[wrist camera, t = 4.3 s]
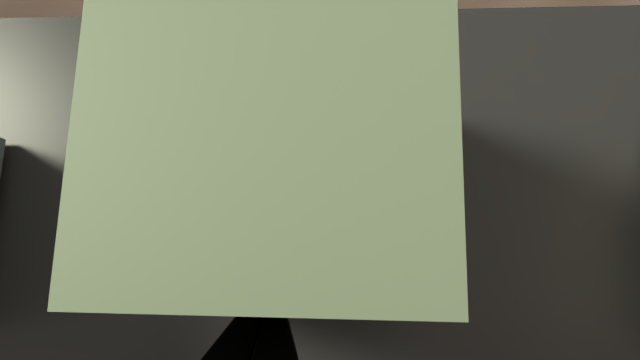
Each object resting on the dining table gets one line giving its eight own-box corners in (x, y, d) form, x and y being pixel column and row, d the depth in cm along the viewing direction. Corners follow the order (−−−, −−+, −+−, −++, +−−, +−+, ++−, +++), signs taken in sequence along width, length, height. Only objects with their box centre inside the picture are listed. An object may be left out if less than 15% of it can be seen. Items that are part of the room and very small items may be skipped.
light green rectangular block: (411, 301, 15) (468, 322, 7) (206, 296, 15) (46, 311, 7) (407, 102, 16) (454, -69, 8) (218, 104, 16) (90, -58, 9)
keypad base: (872, 403, 15) (927, 417, 14) (-173, 367, 18) (-221, 374, 16) (805, 24, 17) (846, 1, 16) (-109, 40, 20) (-147, 21, 18)
